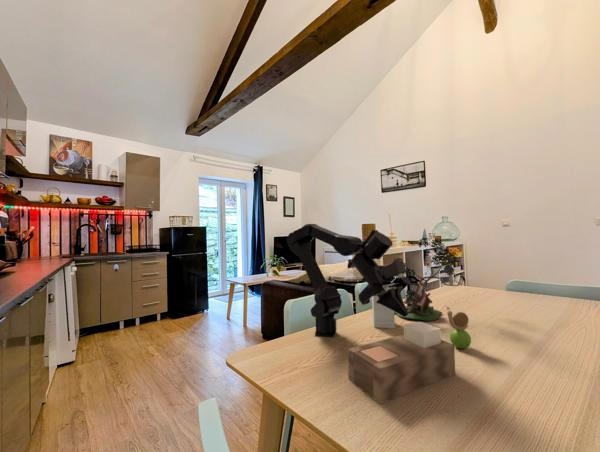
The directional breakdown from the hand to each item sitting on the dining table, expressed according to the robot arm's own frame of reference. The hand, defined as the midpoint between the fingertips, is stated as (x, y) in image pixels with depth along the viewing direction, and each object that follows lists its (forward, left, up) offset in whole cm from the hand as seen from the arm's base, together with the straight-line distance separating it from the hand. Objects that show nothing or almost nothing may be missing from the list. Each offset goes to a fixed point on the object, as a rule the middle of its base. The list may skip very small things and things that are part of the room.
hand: (406, 315), depth 72 cm
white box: (+3, -2, -9) cm, 10 cm away
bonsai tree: (+16, +44, -13) cm, 49 cm away
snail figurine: (+16, +13, -13) cm, 24 cm away
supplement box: (-4, +30, -13) cm, 32 cm away
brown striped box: (-2, -7, -13) cm, 14 cm away
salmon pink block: (-8, -11, -13) cm, 19 cm away
